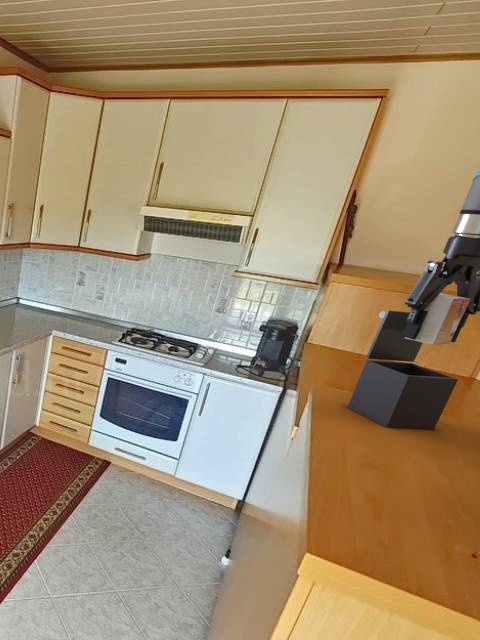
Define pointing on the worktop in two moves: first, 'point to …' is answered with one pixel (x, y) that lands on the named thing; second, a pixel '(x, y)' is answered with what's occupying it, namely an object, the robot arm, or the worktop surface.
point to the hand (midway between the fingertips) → (428, 339)
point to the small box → (442, 319)
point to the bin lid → (393, 339)
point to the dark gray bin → (401, 394)
